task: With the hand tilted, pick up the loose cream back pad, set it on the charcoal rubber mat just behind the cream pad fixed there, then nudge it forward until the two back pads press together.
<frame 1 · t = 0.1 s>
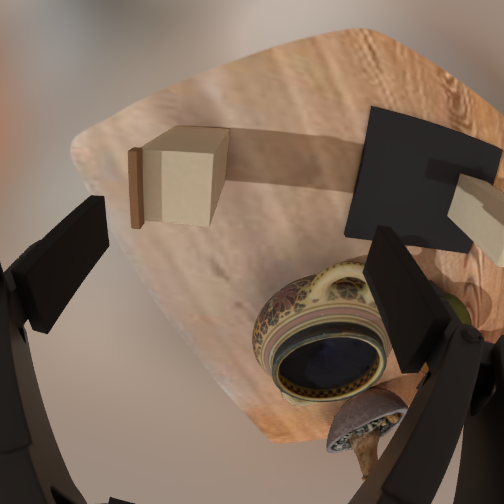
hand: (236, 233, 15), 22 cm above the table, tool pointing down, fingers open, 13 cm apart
fruit: (426, 312, 46), on the table
planter: (358, 398, 58), on the table
pad base: (429, 187, 35), on the table
ceramic bowl: (317, 300, 45), on the table
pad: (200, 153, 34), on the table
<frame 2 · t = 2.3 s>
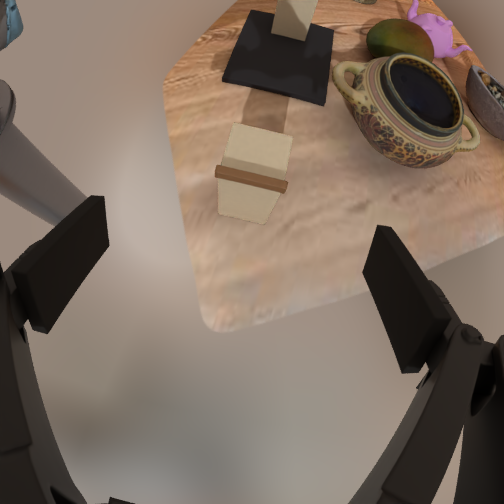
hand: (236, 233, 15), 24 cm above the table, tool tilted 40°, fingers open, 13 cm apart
fruit: (389, 61, 49), on the table
planter: (484, 122, 50), on the table
teapot: (425, 44, 52), on the table
pad base: (283, 52, 46), on the table
ceramic bowl: (386, 134, 45), on the table
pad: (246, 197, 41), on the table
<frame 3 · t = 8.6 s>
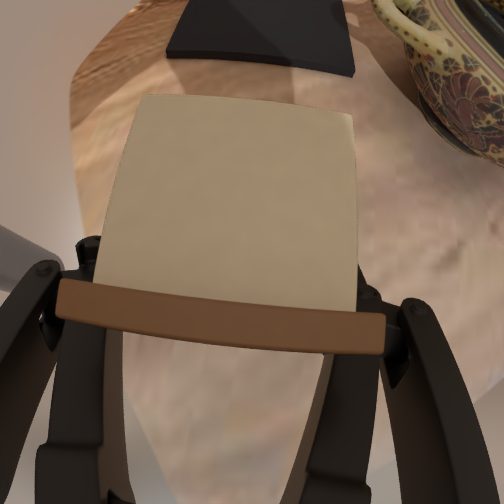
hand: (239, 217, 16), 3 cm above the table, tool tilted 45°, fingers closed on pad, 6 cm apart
pad base: (267, 6, 26), on the table
ceramic bowl: (456, 118, 24), on the table
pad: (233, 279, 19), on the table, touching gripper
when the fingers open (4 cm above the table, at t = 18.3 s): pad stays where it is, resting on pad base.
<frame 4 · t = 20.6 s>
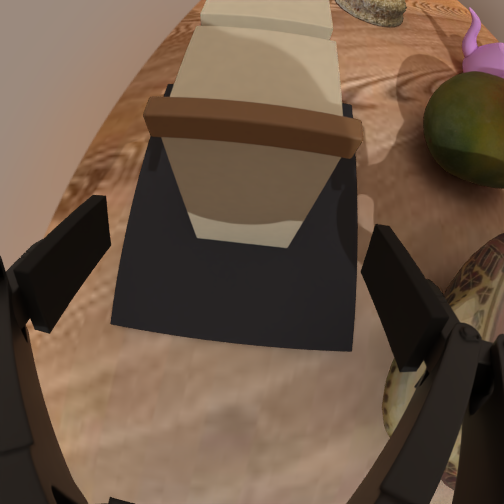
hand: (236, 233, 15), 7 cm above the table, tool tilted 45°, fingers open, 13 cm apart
fruit: (458, 158, 26), on the table
teapot: (491, 96, 29), on the table
pad base: (246, 199, 23), on the table
ceramic bowl: (463, 362, 21), on the table, touching gripper
cake: (368, 8, 32), on the table
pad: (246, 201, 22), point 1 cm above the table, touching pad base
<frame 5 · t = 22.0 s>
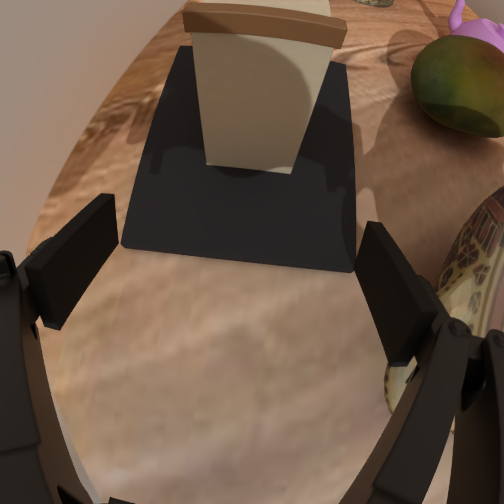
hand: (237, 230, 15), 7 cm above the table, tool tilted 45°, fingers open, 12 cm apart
fruit: (446, 115, 27), on the table
teapot: (477, 68, 31), on the table
pad base: (251, 136, 24), on the table
ceramic bowl: (481, 306, 21), point 1 cm above the table, touching gripper
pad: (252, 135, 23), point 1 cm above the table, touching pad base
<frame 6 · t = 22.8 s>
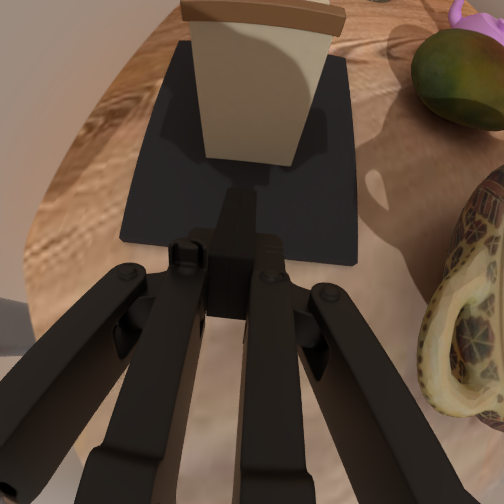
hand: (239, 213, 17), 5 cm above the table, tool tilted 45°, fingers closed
fruit: (447, 109, 27), on the table
teapot: (478, 63, 30), on the table
pad base: (251, 130, 24), on the table
ceramic bowl: (479, 299, 21), on the table
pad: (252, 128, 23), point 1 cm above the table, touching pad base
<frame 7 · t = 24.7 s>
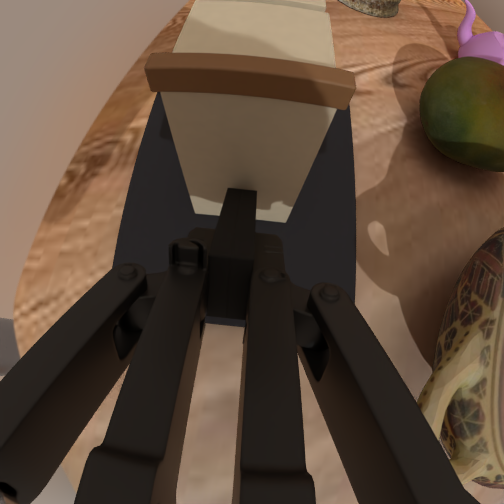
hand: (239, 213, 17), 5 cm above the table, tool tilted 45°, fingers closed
fruit: (455, 144, 25), on the table
teapot: (487, 84, 29), on the table
pad base: (243, 182, 23), on the table
ceramic bowl: (473, 355, 21), on the table
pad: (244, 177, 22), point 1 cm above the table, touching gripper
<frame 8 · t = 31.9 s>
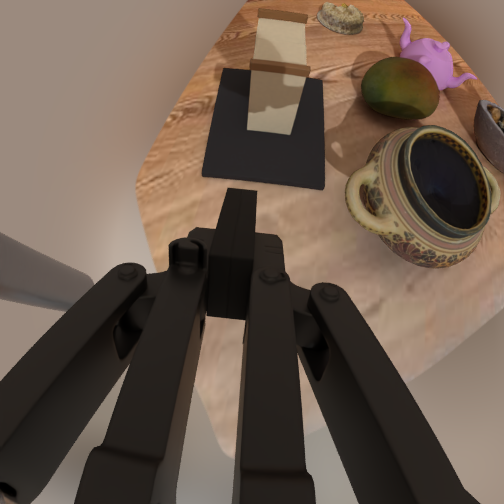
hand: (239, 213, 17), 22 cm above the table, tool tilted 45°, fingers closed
fruit: (388, 108, 47), on the table
planter: (494, 159, 46), on the table
teapot: (422, 74, 50), on the table
pad base: (268, 122, 44), on the table
ceramic bowl: (401, 215, 42), on the table
cake: (339, 22, 52), on the table
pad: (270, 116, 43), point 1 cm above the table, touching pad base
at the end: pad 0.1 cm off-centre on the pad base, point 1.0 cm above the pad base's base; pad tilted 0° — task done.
